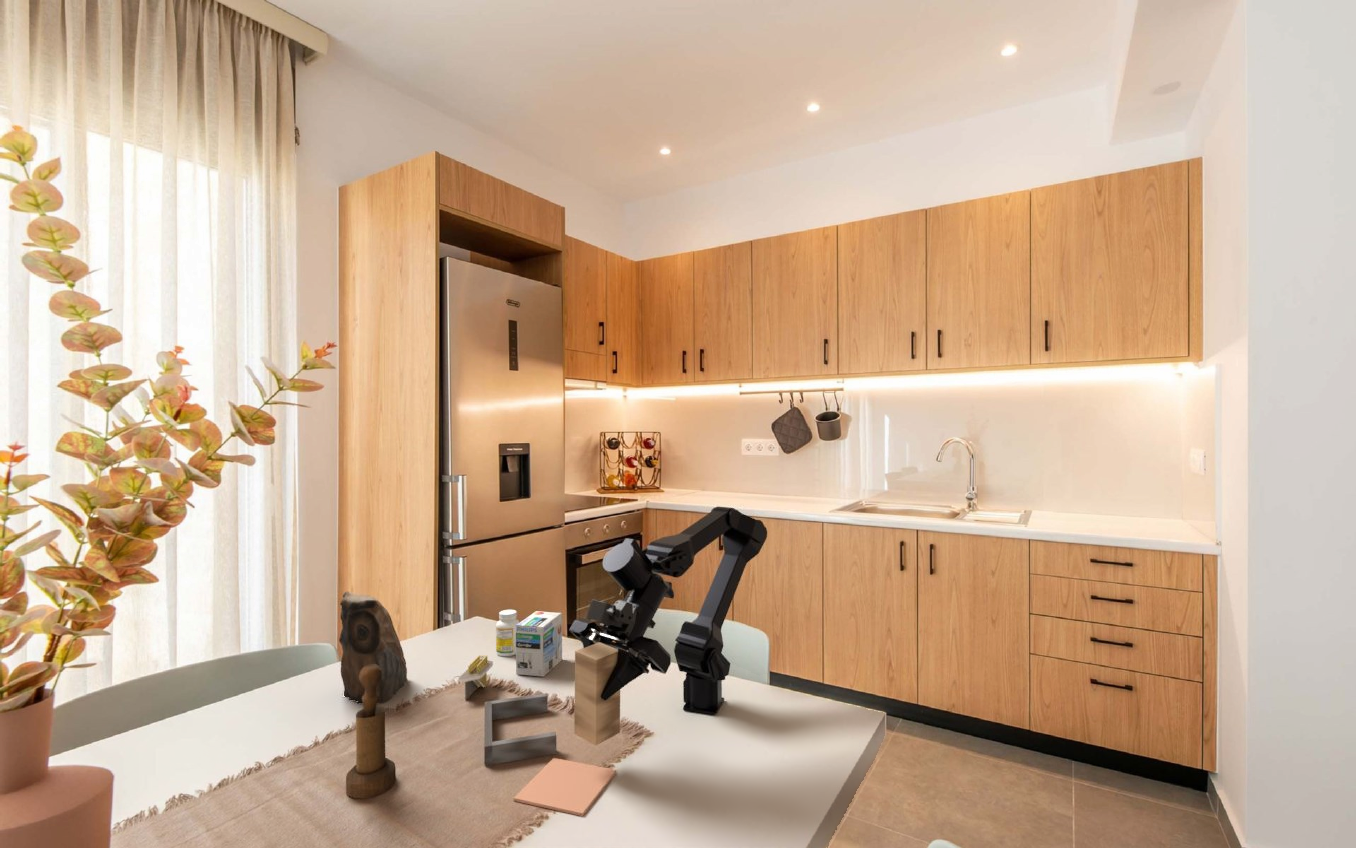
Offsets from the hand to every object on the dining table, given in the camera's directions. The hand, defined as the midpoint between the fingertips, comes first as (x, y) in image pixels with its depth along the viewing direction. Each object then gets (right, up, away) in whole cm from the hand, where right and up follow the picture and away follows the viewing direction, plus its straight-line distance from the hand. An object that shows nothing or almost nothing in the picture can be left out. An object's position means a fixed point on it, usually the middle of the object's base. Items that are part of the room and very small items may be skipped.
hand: (590, 694), depth 94 cm
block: (+1, -7, +1) cm, 7 cm away
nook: (-14, -12, +12) cm, 22 cm away
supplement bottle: (-27, -13, +50) cm, 58 cm away
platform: (-27, -13, +29) cm, 42 cm away
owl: (-48, -13, +30) cm, 58 cm away
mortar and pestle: (-32, -13, -3) cm, 35 cm away
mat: (-3, -12, -4) cm, 13 cm away
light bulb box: (-17, -12, +41) cm, 46 cm away
